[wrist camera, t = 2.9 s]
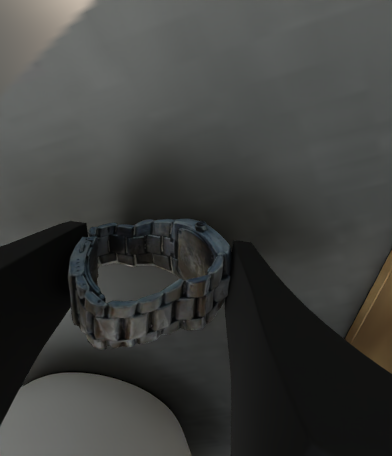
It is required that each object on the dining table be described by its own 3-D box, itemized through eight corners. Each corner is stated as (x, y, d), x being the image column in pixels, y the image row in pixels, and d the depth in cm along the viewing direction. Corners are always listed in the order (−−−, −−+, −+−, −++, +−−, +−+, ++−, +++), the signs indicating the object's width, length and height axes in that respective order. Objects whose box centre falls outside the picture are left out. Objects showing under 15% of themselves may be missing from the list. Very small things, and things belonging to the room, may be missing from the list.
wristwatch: (164, 252, 13) (238, 315, 10) (47, 276, 10) (95, 384, 6) (173, 192, 12) (259, 240, 8) (43, 198, 9) (98, 278, 5)
